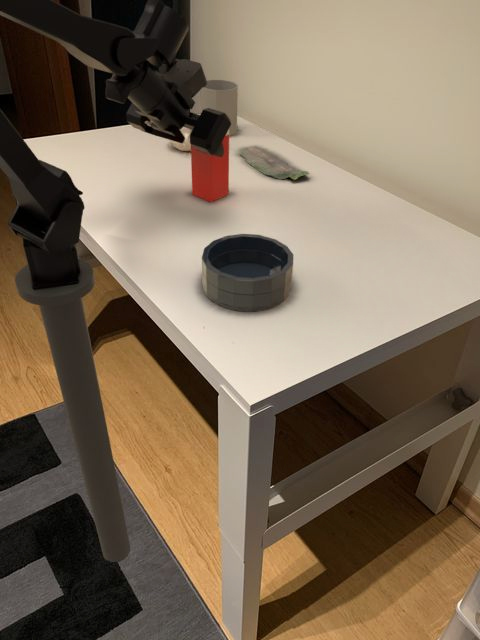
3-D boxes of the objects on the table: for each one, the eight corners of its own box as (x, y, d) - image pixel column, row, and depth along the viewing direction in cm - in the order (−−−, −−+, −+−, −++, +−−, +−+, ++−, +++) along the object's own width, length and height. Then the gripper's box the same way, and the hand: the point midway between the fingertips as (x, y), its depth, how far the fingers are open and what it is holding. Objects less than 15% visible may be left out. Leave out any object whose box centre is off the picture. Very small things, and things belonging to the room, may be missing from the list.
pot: (216, 318, 74) (216, 286, 71) (193, 269, 83) (192, 239, 80) (303, 303, 77) (307, 273, 74) (272, 258, 86) (274, 229, 83)
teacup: (169, 140, 123) (167, 115, 119) (203, 141, 124) (203, 116, 120) (168, 158, 115) (167, 131, 112) (205, 158, 116) (205, 132, 113)
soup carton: (211, 202, 100) (210, 129, 92) (192, 194, 103) (189, 122, 94) (228, 194, 103) (229, 122, 95) (209, 186, 106) (208, 116, 97)
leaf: (230, 156, 121) (230, 151, 120) (260, 149, 124) (260, 144, 123) (281, 185, 107) (281, 180, 106) (313, 177, 110) (313, 172, 109)
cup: (214, 122, 134) (213, 77, 128) (243, 129, 131) (244, 84, 125) (193, 131, 128) (192, 85, 122) (223, 139, 125) (224, 92, 119)
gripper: (223, 55, 78) (267, 118, 92) (132, 33, 86) (184, 94, 100) (186, 126, 78) (235, 178, 92) (99, 97, 86) (156, 149, 100)
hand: (202, 147), depth 96 cm, fingers open, 9 cm apart
